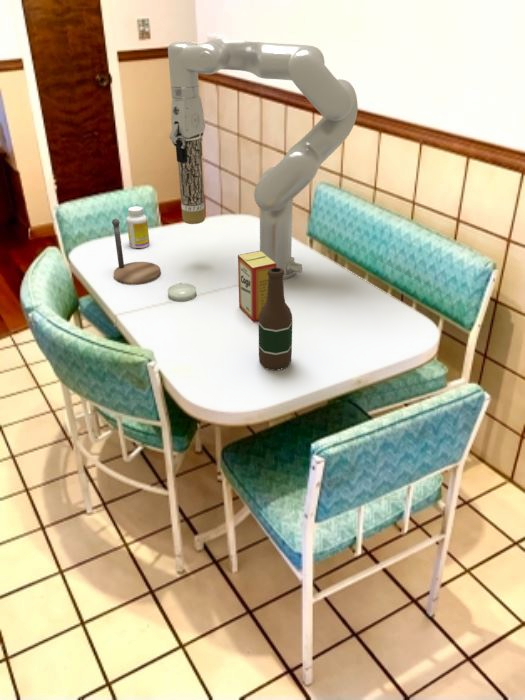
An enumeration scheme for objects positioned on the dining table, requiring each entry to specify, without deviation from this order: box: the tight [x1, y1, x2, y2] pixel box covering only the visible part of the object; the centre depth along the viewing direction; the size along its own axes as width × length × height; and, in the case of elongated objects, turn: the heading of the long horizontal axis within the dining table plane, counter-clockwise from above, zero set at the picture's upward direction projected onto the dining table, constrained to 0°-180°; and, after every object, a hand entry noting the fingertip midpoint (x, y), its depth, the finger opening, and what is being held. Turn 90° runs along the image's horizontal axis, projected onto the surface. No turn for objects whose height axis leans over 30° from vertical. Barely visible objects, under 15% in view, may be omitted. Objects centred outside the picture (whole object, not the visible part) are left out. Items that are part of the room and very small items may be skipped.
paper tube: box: [177, 135, 206, 225], centre depth 186 cm, size 7×7×25 cm
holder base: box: [111, 218, 162, 286], centre depth 190 cm, size 14×14×17 cm
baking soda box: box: [237, 250, 276, 323], centre depth 169 cm, size 10×6×16 cm
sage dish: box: [167, 283, 197, 302], centre depth 182 cm, size 8×8×2 cm
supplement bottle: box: [126, 205, 150, 249], centre depth 211 cm, size 7×7×13 cm
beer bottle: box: [258, 267, 293, 371], centre depth 145 cm, size 8×8×24 cm
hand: (189, 158), depth 182 cm, fingers closed on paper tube, 6 cm apart
